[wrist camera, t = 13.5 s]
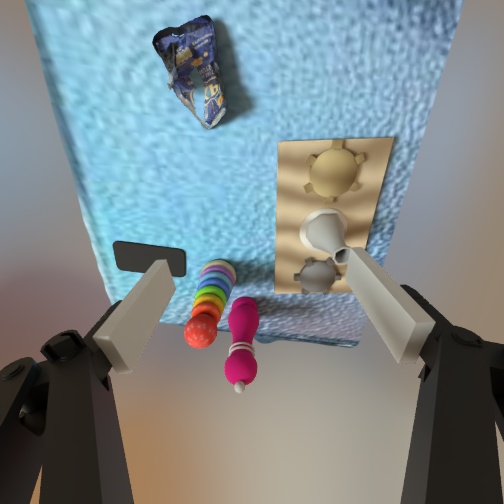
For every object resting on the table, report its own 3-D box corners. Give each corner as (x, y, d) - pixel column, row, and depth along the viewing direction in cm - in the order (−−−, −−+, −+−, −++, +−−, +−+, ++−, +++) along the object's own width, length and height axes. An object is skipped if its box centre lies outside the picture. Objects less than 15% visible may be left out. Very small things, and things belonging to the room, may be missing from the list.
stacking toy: (238, 261, 45) (229, 331, 29) (234, 289, 49) (223, 365, 32) (203, 255, 44) (172, 323, 28) (200, 284, 48) (173, 359, 32)
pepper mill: (252, 291, 49) (250, 375, 31) (263, 312, 52) (267, 399, 35) (225, 300, 50) (209, 385, 33) (237, 319, 54) (229, 407, 36)
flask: (345, 240, 40) (370, 268, 32) (309, 251, 42) (323, 281, 33) (340, 206, 37) (366, 227, 28) (301, 219, 38) (314, 243, 30)
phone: (184, 278, 47) (117, 270, 46) (185, 276, 48) (119, 268, 47) (184, 250, 43) (111, 240, 42) (185, 248, 44) (113, 239, 43)
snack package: (155, 115, 33) (226, 136, 34) (133, 100, 27) (221, 125, 28) (164, 20, 29) (244, 46, 30) (140, -23, 23) (242, 11, 24)
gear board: (278, 141, 34) (279, 141, 31) (388, 137, 33) (398, 137, 31) (274, 289, 49) (275, 297, 46) (350, 288, 48) (355, 295, 46)
